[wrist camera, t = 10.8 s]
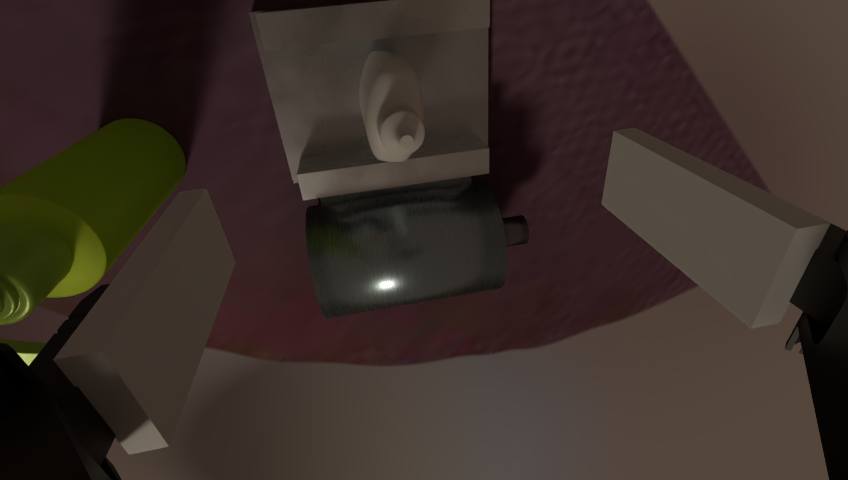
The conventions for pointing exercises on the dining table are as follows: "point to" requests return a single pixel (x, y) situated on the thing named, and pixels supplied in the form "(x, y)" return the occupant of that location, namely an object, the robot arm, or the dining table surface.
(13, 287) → the soap dispenser
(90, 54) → the dining table surface
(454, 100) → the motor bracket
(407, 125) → the eye dropper bottle
